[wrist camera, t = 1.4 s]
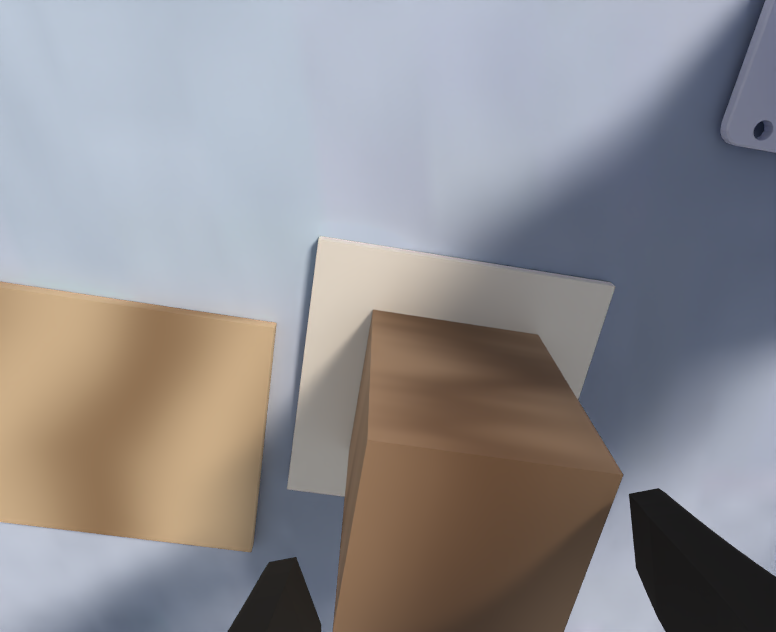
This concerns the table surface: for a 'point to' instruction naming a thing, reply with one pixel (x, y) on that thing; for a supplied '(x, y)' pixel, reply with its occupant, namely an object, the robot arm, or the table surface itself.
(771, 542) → the table surface
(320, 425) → the card
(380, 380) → the walnut block
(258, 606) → the robot arm
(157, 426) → the cork mat
